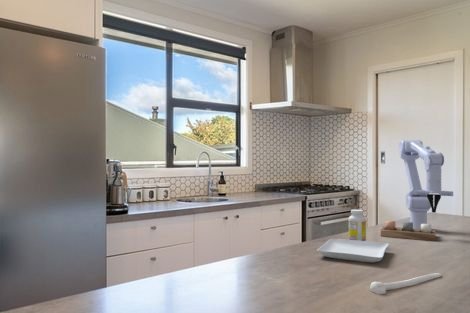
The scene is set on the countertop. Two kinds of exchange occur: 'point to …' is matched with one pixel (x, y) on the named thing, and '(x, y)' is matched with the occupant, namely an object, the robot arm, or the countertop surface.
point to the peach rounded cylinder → (390, 225)
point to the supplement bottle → (357, 226)
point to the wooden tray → (408, 234)
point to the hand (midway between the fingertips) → (433, 212)
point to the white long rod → (400, 283)
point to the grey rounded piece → (407, 226)
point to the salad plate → (353, 250)
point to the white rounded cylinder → (426, 228)
